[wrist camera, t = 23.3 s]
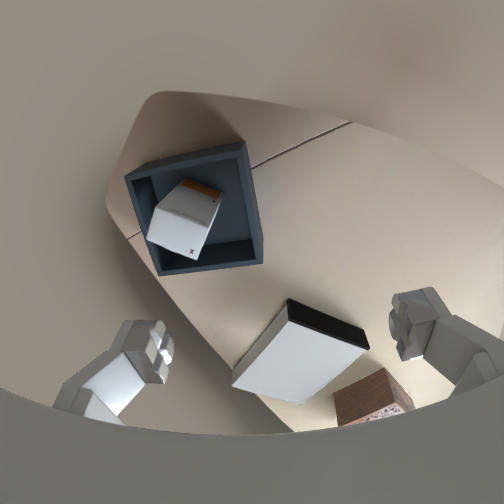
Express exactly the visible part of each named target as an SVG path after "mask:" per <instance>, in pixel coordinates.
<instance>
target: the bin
mask: <svg viewBox="0 0 504 504" xmlns="http://www.w3.org/2000/svg"><path fill="white" fill-rule="evenodd" d="M186 177H187V178H189V179H191V180H194V181H196V182H199V183H201V184H203V185H206V186H208V187H211V188H214V189H216V190H218V191H221V192H224V193H225V194H224V196H223V199H222V201H221V204H220V207H219V209H218V211H217V214H216V216H215V218H214V221H213V223H212V225H211V228H210V230H209V232H208V235H207V237H206V240H205V242H204V244H203V247H202V249H201V251H200V254H199V257H198V259H197V260H194V259H192V258H189V257H187V256H184V255H182V254H179V253H176V252H173V251H170V250H168V249H166V248H164V247H163V246H160V245H158V244H155V243H153V242H151V241H148V240H147V239H146V237H147V233H148V229H149V226H150V223H151V219H152V216H153V213H154V210H155V207H156V206H157V205H158V204H159V203H160V202H161V201H162V200H163V199H164V198H165V197H166V196H167V195H168V194H169V193H170V192H171V191H172V190H173V189H174V188H175V187H176V186H177V185H178V184H179V183H180V182H181V181H182V180H183V179H184V178H186ZM124 178H125V181H126V184H127V188H128V191H129V194H130V197H131V201H132V204H133V207H134V210H135V213H136V216H137V219H138V222H139V225H140V228H141V231H142V233H143V236H144V239H145V242H146V245H147V247H148V250H149V253H150V255H151V258H152V261H153V263H154V266H155V269H156V271H157V274H158V276H167V275H175V274H184V273H192V272H200V271H208V270H217V269H225V268H233V267H241V266H249V265H256V264H263V234H262V229H261V223H260V217H259V212H258V206H257V201H256V195H255V190H254V184H253V179H252V173H251V168H250V162H249V157H248V152H247V146H246V142H239V143H233V144H228V145H223V146H218V147H213V148H208V149H203V150H198V151H194V152H189V153H185V154H181V155H176V156H172V157H168V158H164V159H160V160H157V161H153V162H149V163H145V164H143V165H142V166H140V167H138V168H137V169H135V170H133V171H132V172H130V173H129V174H127V175H125V176H124Z"/></svg>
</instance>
